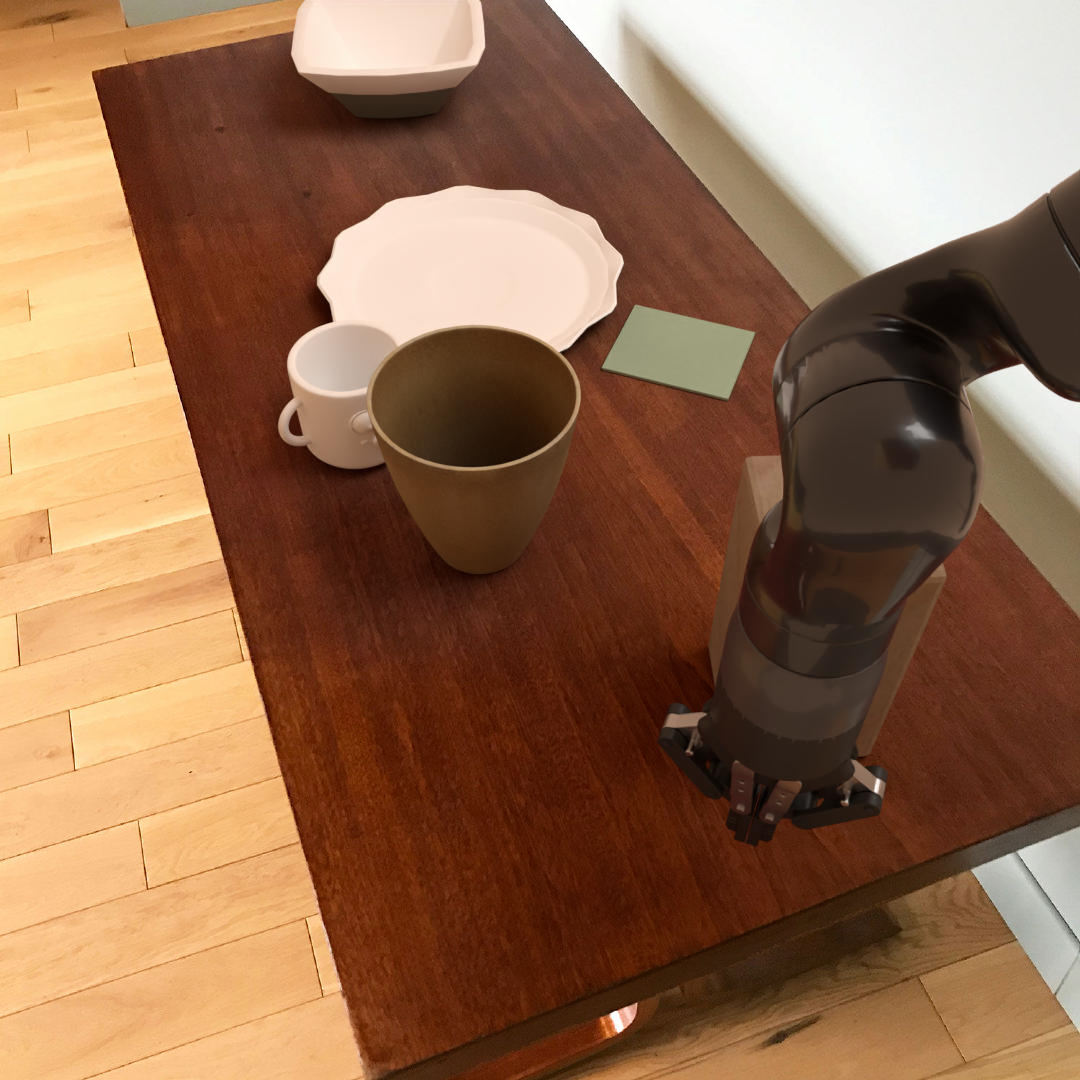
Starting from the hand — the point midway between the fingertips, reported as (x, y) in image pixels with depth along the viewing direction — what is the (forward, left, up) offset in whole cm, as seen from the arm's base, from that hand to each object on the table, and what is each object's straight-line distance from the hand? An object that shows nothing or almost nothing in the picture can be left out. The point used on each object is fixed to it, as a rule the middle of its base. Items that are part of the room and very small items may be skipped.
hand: (749, 830), depth 68 cm
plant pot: (+26, -19, -5) cm, 33 cm away
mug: (+41, -25, -5) cm, 48 cm away
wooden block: (0, -13, -5) cm, 14 cm away
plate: (+40, -49, -5) cm, 64 cm away
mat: (+18, -47, -5) cm, 51 cm away
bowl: (+64, -81, -5) cm, 104 cm away
